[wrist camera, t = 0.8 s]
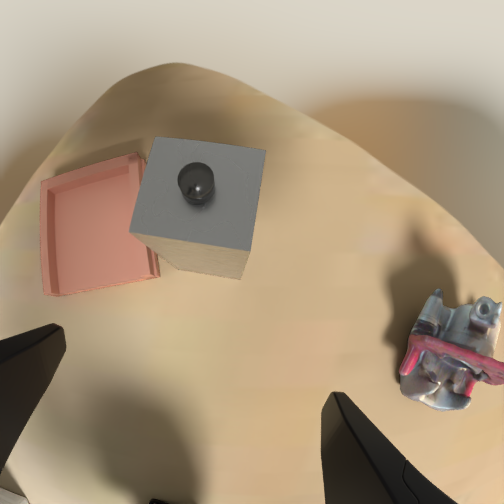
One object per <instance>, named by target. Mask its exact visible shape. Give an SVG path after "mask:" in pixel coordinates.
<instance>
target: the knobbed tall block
mask: <svg viewBox="0 0 504 504" xmlns="http://www.w3.org/2000/svg"><path fill="white" fill-rule="evenodd" d="M265 153H266V150H261V149H255V148H249V147H242V146H235V145H228V144H221V143H214V142H205V141H197V140H188V139H178V138H167V137H155V139H154V142H153V145H152V148H151V152H150V155H149V158H148V161H147V164H146V168H145V171H144V174H143V178H142V181H141V185H140V189H139V192H138V196H137V200H136V203H135V207H134V211H133V215H132V219H131V223H130V228H129V233H130V234H132V235H133V236H134V237H136V238H137V239H138V240H139V241H141V242H142V243H143V244H145V245H146V246H147V247H148V248H150V249H151V250H152V251H154V252H155V253H156V254H158V255H159V256H160V257H162V258H163V259H164V260H166V261H167V262H168V263H170V264H171V265H172V266H174V267H175V268H176V269H178V270H184V271H190V272H196V273H202V274H208V275H214V276H220V277H226V278H232V279H238V280H241V277H242V274H243V271H244V268H245V265H246V263H247V260H248V257H249V254H250V250H251V244H252V238H253V231H254V225H255V218H256V212H257V205H258V199H259V192H260V186H261V179H262V173H263V166H264V160H265Z"/></svg>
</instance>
